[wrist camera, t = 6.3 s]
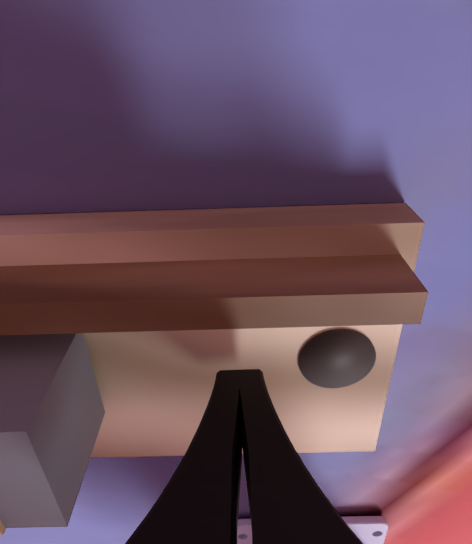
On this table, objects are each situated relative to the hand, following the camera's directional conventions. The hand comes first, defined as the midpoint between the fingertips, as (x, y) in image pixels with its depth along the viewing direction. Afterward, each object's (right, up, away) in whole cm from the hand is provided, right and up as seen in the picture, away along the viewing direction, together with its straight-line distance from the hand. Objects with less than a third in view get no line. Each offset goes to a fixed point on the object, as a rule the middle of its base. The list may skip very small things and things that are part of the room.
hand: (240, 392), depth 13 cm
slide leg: (-7, 0, +1) cm, 7 cm away
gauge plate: (-7, +1, +3) cm, 7 cm away
